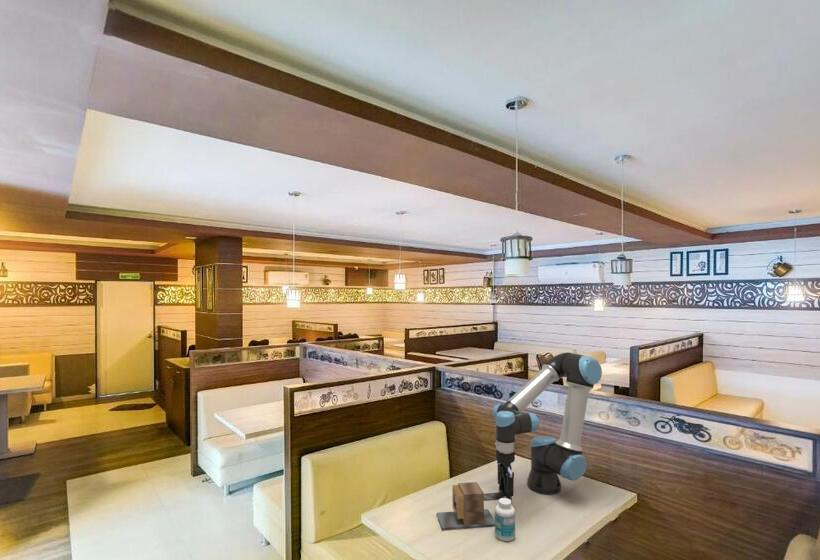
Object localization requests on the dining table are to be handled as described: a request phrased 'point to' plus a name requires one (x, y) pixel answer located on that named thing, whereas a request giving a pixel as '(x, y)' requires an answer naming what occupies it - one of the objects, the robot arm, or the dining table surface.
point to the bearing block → (468, 511)
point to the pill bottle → (505, 520)
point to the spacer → (458, 501)
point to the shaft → (493, 495)
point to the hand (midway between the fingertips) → (505, 507)
